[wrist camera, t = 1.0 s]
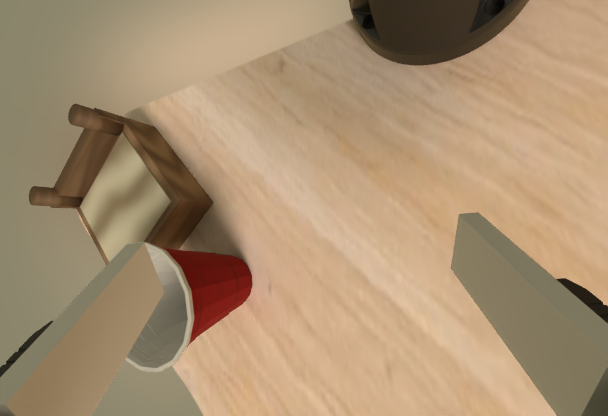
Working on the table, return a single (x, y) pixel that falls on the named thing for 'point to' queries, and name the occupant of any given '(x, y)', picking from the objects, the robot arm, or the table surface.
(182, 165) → the walnut stand
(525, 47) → the table surface
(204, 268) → the plastic cup
